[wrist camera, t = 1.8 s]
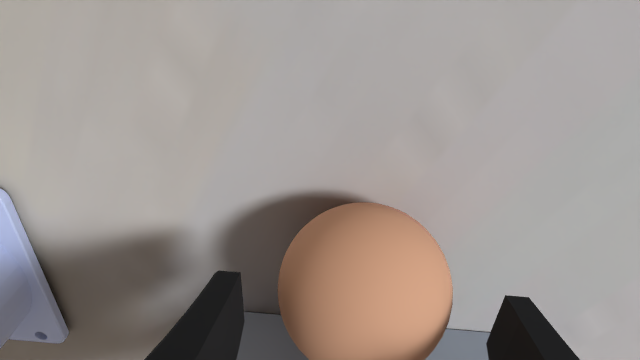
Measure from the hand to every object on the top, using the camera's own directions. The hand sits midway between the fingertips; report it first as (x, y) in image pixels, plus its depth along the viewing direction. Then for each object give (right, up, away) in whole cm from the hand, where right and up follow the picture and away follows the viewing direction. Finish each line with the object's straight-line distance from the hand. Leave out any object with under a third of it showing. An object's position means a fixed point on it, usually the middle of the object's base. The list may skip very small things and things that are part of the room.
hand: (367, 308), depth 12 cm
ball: (0, +2, +3) cm, 3 cm away
